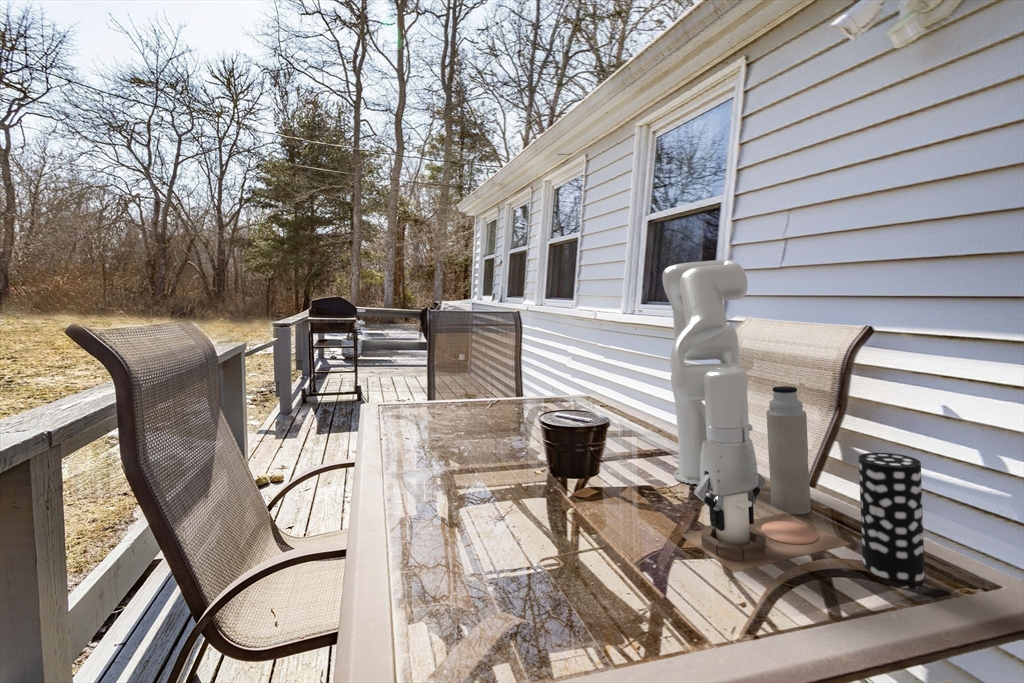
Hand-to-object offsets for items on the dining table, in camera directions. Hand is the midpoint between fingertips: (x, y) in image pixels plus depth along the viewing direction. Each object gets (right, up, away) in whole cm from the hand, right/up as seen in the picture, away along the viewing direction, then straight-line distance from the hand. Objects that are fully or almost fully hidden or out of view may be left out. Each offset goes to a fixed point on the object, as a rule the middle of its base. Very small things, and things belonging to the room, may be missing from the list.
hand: (732, 523), depth 96 cm
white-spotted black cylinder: (+22, -5, -12) cm, 25 cm away
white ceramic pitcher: (0, -4, +1) cm, 4 cm away
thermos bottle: (+21, -3, +18) cm, 28 cm away
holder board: (+7, -5, +2) cm, 8 cm away
